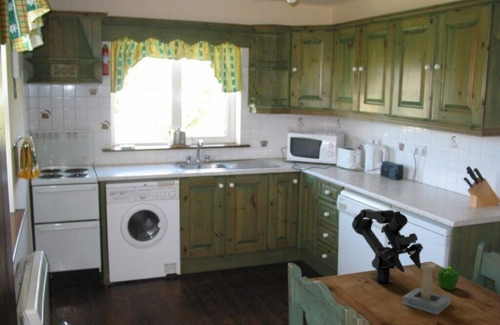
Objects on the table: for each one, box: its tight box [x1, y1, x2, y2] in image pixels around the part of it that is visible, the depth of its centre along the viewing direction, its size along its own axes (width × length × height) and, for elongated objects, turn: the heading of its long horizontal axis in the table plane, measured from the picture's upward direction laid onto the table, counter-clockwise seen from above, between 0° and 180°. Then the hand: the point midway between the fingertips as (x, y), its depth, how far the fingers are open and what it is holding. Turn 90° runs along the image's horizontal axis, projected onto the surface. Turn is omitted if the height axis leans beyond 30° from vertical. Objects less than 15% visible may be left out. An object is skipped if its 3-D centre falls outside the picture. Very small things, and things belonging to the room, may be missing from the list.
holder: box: [402, 287, 452, 315], centre depth 200 cm, size 14×13×3 cm
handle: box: [420, 261, 437, 301], centre depth 199 cm, size 5×6×15 cm
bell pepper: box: [437, 265, 460, 291], centre depth 216 cm, size 8×8×10 cm
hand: (412, 270), depth 205 cm, fingers open, 9 cm apart
